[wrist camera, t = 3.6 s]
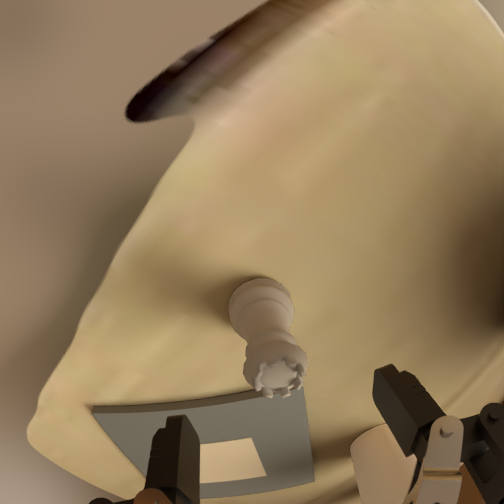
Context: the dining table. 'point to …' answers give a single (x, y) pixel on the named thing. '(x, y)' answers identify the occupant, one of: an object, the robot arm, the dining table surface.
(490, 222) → the dining table surface
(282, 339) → the rook chess piece
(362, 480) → the foam cup
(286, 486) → the board
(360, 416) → the dining table surface
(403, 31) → the dining table surface
